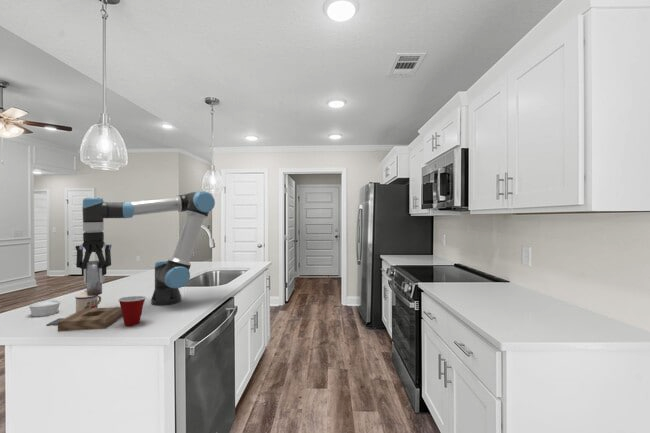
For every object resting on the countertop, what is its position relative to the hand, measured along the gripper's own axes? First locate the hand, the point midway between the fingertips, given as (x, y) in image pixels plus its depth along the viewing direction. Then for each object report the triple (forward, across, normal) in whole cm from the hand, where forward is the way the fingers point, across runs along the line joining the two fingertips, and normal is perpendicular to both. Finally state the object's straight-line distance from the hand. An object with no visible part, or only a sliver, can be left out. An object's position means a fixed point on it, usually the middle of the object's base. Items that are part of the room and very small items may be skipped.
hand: (94, 282), depth 140 cm
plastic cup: (+19, -18, +5) cm, 26 cm away
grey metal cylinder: (+5, 0, 0) cm, 5 cm away
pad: (+18, +14, -3) cm, 23 cm away
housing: (+18, 0, 0) cm, 18 cm away
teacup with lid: (+19, +10, -17) cm, 27 cm away
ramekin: (+18, +30, -18) cm, 40 cm away
